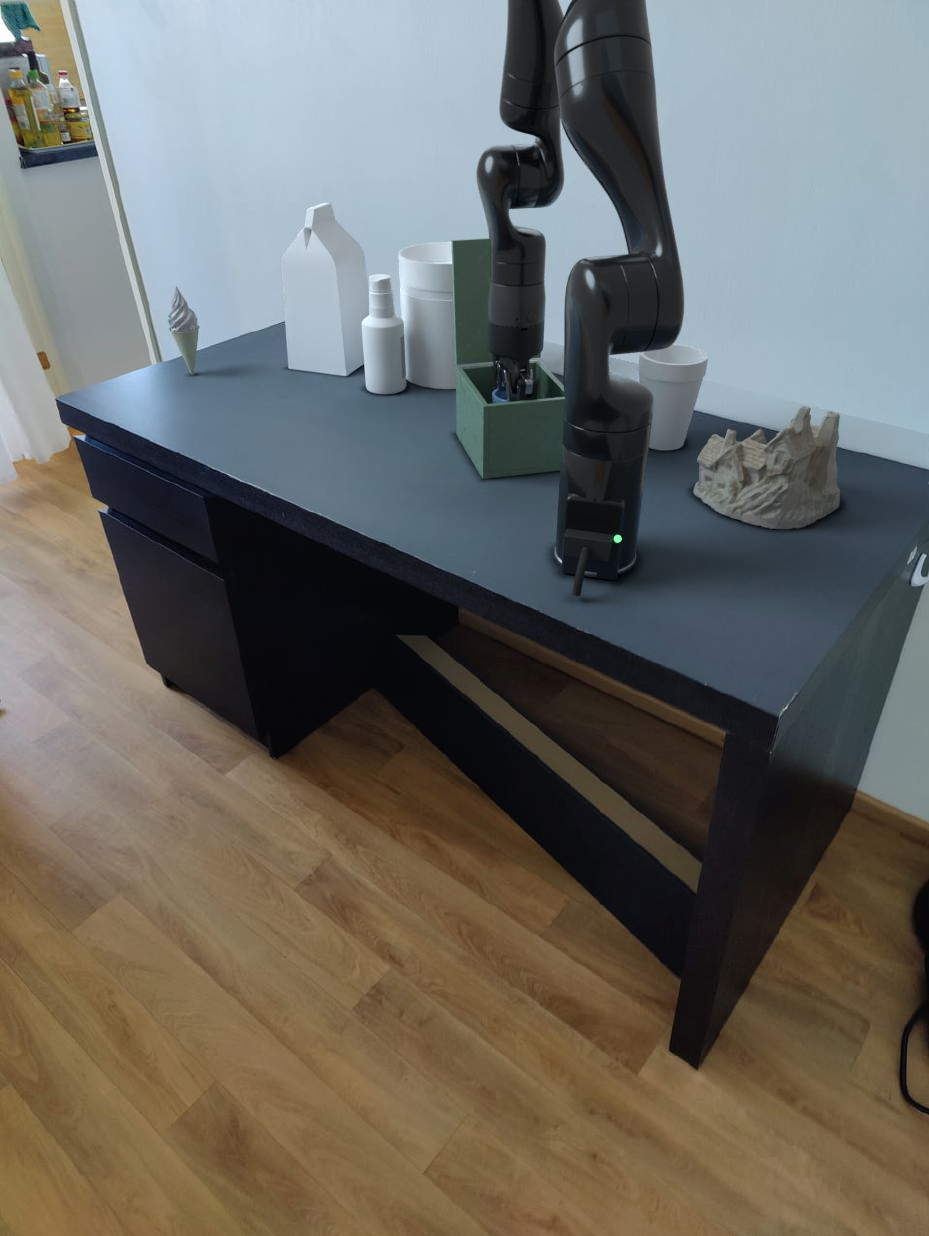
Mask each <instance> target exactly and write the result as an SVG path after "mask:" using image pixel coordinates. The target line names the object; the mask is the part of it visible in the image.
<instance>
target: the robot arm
mask: <svg viewBox="0 0 929 1236" xmlns="http://www.w3.org/2000/svg"><path fill="white" fill-rule="evenodd" d="M561 6H562V5H561V4H560V1H559V0H507V17H506V34H505V35H506V37H505V49H504V58H503V59H504V60H503V67H502V77H501V85H500V93H499V103H498V110H499V111H498V113H499V118H500V121H501V123H503V125H505V126H506V127H507V128H508V129H511V130H513V131H515V132H518V133H521V134H524V135H525V134H526V135H529V136H533V137H535V138H534V142H533V143H517V144H516V143H515V144H514V143H513V144H512V143H511V144H493V145H491V146H488V147H487V148H486V149H485V150H484V151H483V152H482V154H481V155H480V157H479V159H478V162H477V165H476V173H475V178H476V184H477V190H478V194H479V197H480V201H481V205H482V208H483V212H484V217H485V221H486V227H487V232H488V238H489V240H490V287H489V293H488V334H487V348H488V350H489V352H490V353H491V354H493V376H494V387H493V389H494V390H496V389H501V390H502V391H506V399H507V402H514V401H525V400H535V399H537V394H538V384H539V382H538V379H537V378H533V372H532V367H530V362H529V361H531V360H532V359H533V358H532V357H533V356H536V355H538V354H540V353H541V354H542V352H543V350H544V343H545V341H544V340H545V321H546V318H545V317H546V301H547V300H546V285H545V283H546V281H545V280H546V279H545V277H546V258H547V241H546V240H547V239H546V237H545V235H544V233H542V231H540V230H539V229H535V228H532V227H526V226H520V225H516V224H514V223H513V222H512V220H511V216H510V210H524V209H542V208H543V209H544V208H548V207H550V206H552V205H553V204H554V203H555V202H556V201H557V200H558V199H559V197H560V196H561V194H562V192H563V189H564V185H565V166H564V157H563V150H562V148H563V147H562V134H561V130H563V131H564V133H565V136H566V137H567V139H568V141H569V143H570V145H571V146H572V148H573V150H574V151H575V152H576V154H577V155H578V157H579V158H580V160H582V162H583V164H584V165H585V166H586V168H587V170H589V172H590V173H591V174H592V176H593V177H594V179H595V180H596V181H597V183H598V184H599V185H600V186H601V188H602V189H603V191H604V192H605V194H606V195H607V197H608V199H609V201H610V202H611V204H612V206H613V208H614V210H615V212H616V214H617V216H618V219H619V222H620V225H621V228H622V232H623V236H624V239H625V244H626V250H627V253H626V254H625V253H624V254H623V253H622V254H611V255H596V256H588V257H583V258H580V259H579V260H578V261H576V262H575V264H573V266H572V268H571V270H570V272H569V274H568V276H567V277H568V278H567V281H566V287H565V294H564V311H563V313H564V314H563V315H564V316H563V317H564V318H563V319H564V320H563V321H564V323H563V324H564V325H563V329H564V330H563V332H564V335H563V336H564V337H563V340H564V341H563V342H564V346H563V374H562V375H563V379H562V380H563V381H562V382H563V385H564V399H565V405H564V422H563V438H562V451H561V467H560V471H559V485H558V500H557V514H556V515H557V516H556V520H557V521H556V534H555V546H554V552H553V557H554V560H555V562H556V563H557V564H558V565H559V566H560V567H561V569H560V570H561V571H560V572H561V573H562V574H568V575H573V576H574V581H573V586H572V593H571V595H572V596H575V597H581V596H582V595H581V594H582V589H583V584H584V578H585V577H586V578H587V577H588V578H595V579H600V580H601V579H602V580H609V581H616V580H617V577H618V576H619V575H623V574H625V573H627V572H629V571H631V570H632V568H634V566H635V564H636V562H637V561H636V560H637V547H638V539H639V538H638V537H639V528H640V521H641V512H642V505H643V497H644V496H643V495H644V489H645V480H646V471H647V464H648V463H647V462H648V456H649V455H648V454H649V441H650V433H651V425H652V417H653V409H654V397H653V394H652V392H651V391H650V389H649V388H647V387H646V386H645V385H643V384H641V383H639V381H637V380H636V379H635V380H634V379H632V378H629V377H625V376H623V375H618V374H615V373H612V372H610V356H616V355H626V354H638V353H640V352H647V351H655V350H662V349H665V348H668V347H670V346H671V345H672V344H675V342H677V339H678V338H679V336H680V334H681V331H682V328H683V323H684V316H685V288H684V280H683V279H684V277H683V272H682V267H681V261H680V256H679V250H678V244H677V239H676V233H675V229H674V224H673V219H672V214H671V208H670V203H669V197H668V190H667V185H666V179H665V173H664V165H663V156H662V150H661V149H662V148H661V138H660V137H661V136H660V127H659V118H658V102H657V85H656V77H655V67H654V66H655V65H654V57H653V46H652V40H651V39H652V38H651V33H650V32H651V31H650V25H649V19H648V10H647V1H646V0H570V2H569V4H568V6H567V9H566V11H565V13H563V9H562V7H561ZM561 125H562V126H561ZM561 127H562V129H561ZM531 358H532V359H531ZM512 394H517V397H514V396H513V395H512Z"/></svg>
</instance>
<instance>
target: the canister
mask: <svg viewBox="0 0 929 1236" xmlns="http://www.w3.org/2000/svg"><path fill="white" fill-rule="evenodd" d="M397 254H398V255H397V257H398V258H397V259H398V261H397V262H398V280H399V303H400V304H399V305H400V318H402V320H403V322H404V339H405V363H406V381H408V382H410V383H411V384H414V385H417V386H420V387H423V388H430V389H435V390H436V389H437V390H438V389H439V390H456V368H457V367H469V366H481V365H492V364H493V362H484V363H472V364H460V365H456V364H455V341H454V309H453V278H452V247H451V241H433V242H424V243H418V244H417V243H416V244H413V245H408V246H405V247H403V248H401V249H400V250H399V251H398V252H397Z"/></svg>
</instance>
